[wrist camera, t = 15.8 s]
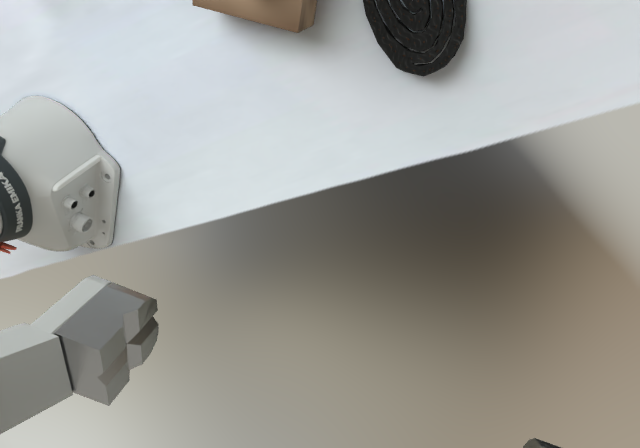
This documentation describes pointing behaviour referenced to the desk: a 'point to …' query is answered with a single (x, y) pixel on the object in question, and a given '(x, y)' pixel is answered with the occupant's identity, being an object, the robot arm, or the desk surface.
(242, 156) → the desk surface
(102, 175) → the robot arm
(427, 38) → the hairbrush
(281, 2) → the lever base
